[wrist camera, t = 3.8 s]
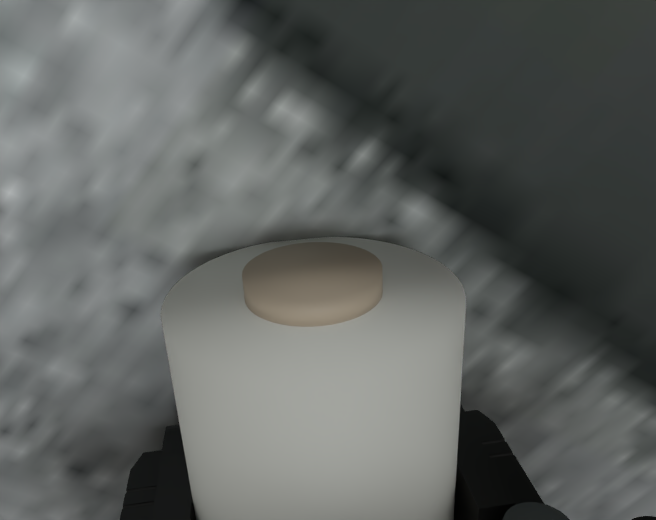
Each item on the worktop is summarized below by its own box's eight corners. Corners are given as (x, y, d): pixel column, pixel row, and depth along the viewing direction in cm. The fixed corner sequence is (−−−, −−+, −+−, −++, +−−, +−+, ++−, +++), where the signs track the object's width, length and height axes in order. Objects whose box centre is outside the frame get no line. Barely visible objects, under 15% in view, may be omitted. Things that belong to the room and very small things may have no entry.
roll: (173, 228, 12) (131, 370, 8) (419, 207, 13) (521, 328, 8) (228, 583, 17) (223, 815, 12) (412, 557, 17) (476, 769, 12)
